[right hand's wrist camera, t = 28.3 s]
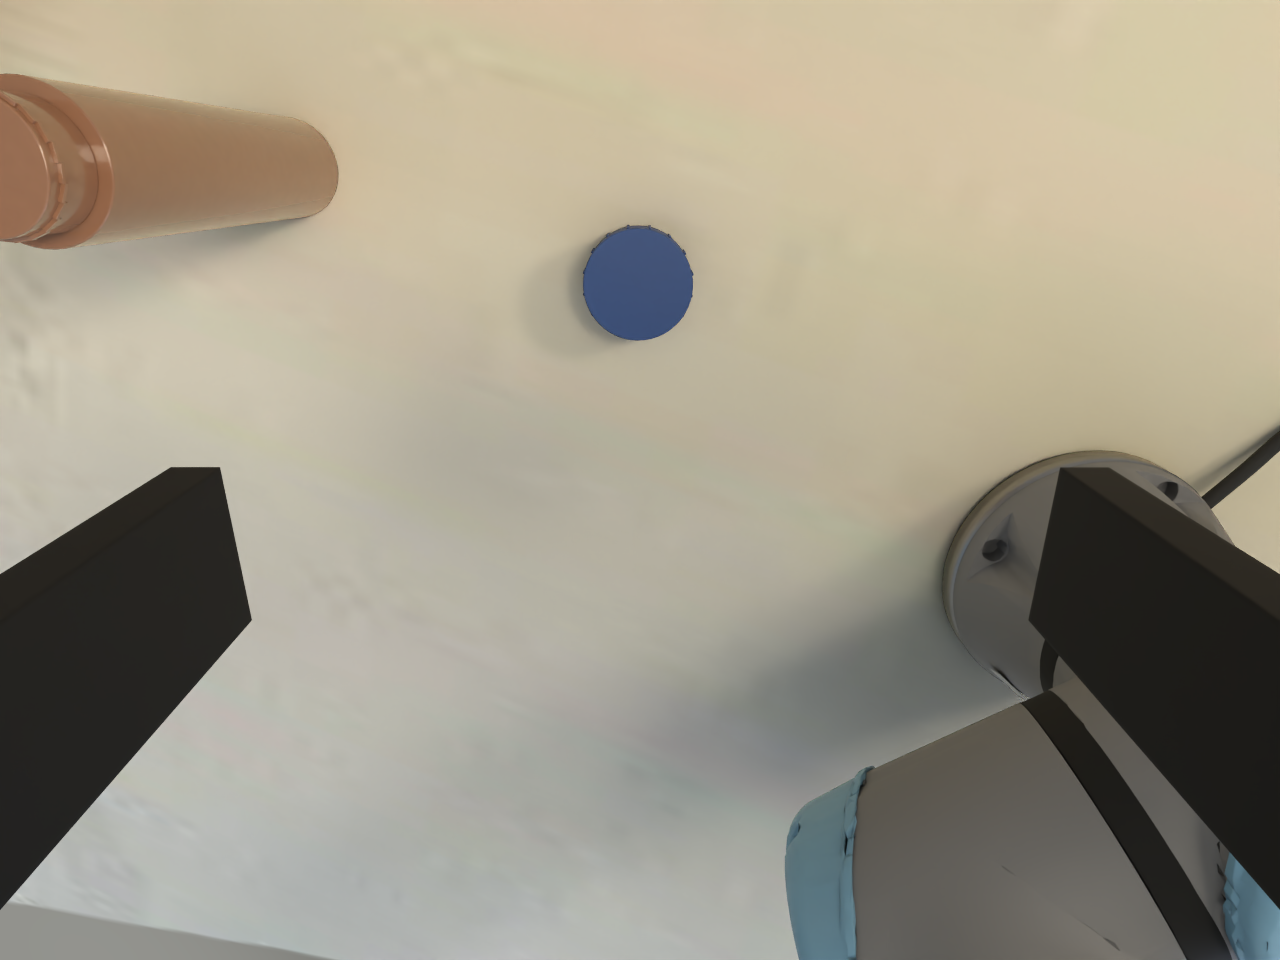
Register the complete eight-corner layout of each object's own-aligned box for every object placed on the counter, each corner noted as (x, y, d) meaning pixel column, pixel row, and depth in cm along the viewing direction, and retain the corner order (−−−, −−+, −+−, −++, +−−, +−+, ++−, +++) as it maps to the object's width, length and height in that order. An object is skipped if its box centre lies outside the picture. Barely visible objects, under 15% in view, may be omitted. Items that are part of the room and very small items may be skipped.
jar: (326, 231, 40) (55, 282, 21) (235, 196, 39) (-125, 217, 21) (348, 139, 38) (76, 108, 20) (253, 101, 38) (-118, 32, 19)
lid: (568, 249, 40) (564, 253, 38) (668, 207, 40) (670, 209, 37) (609, 347, 42) (607, 357, 40) (705, 310, 41) (709, 317, 39)
